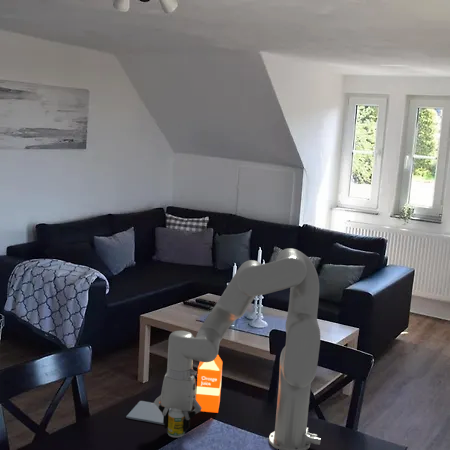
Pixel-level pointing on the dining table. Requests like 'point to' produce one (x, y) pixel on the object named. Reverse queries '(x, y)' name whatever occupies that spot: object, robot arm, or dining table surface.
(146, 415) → the felt mat
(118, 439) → the dining table surface
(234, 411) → the dining table surface
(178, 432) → the supplement bottle
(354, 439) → the dining table surface
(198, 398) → the orange juice
